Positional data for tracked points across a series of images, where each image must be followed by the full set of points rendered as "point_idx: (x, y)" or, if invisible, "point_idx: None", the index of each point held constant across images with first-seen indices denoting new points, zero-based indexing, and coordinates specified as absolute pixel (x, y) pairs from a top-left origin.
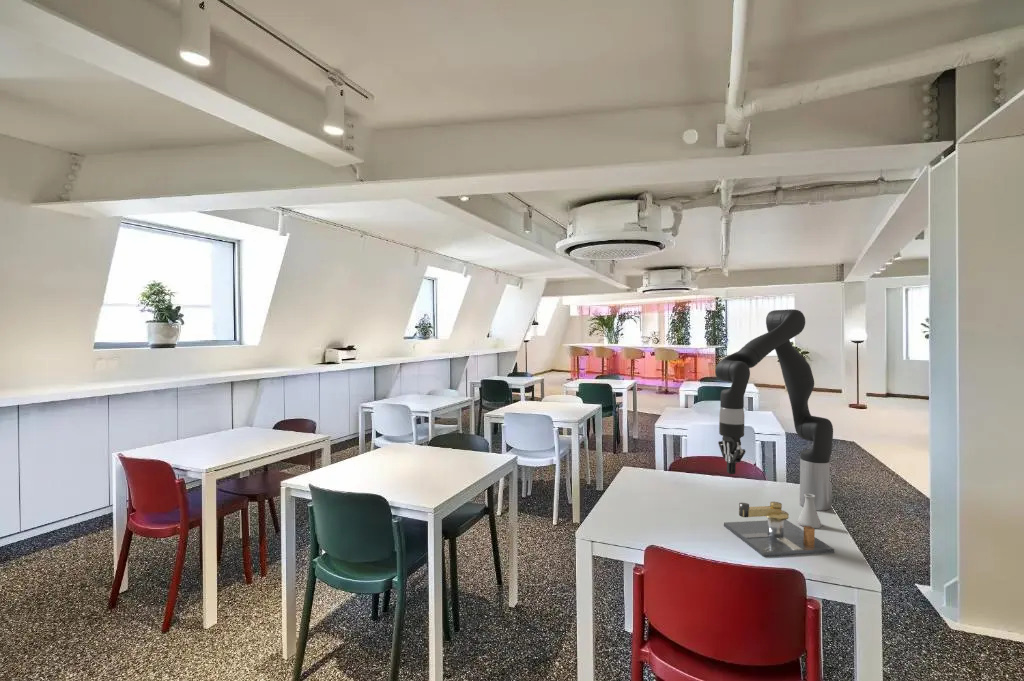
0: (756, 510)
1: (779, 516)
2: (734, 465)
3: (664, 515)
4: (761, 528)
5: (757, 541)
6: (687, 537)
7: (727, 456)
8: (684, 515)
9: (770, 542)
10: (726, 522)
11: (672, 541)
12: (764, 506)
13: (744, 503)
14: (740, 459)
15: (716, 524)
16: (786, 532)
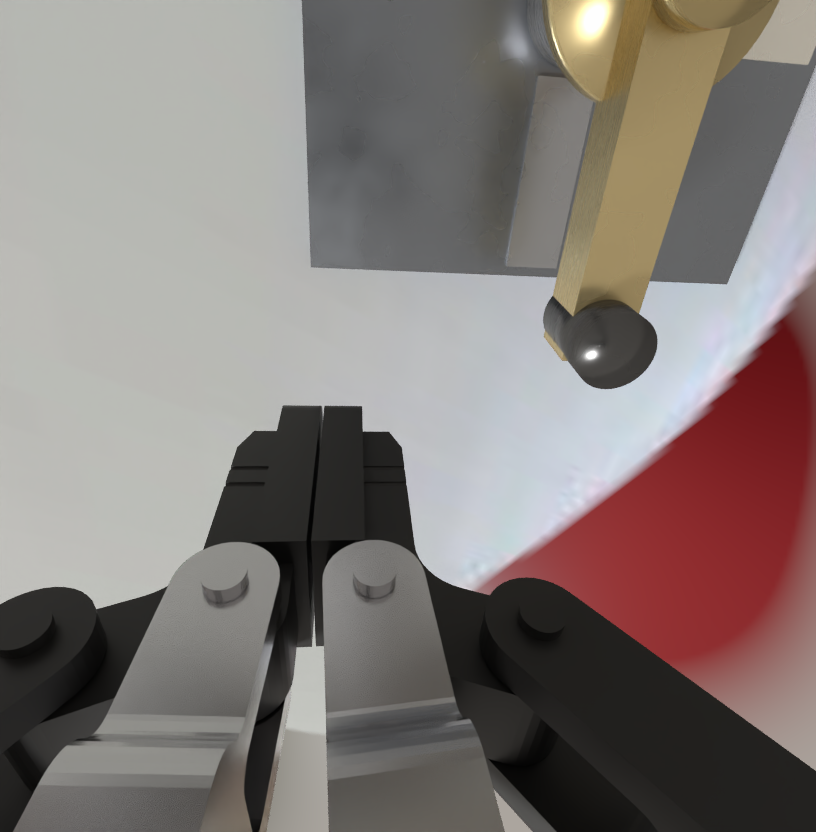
0: (657, 243)
1: (762, 18)
2: (412, 545)
3: (146, 498)
4: (452, 38)
5: None
6: (422, 496)
7: (270, 791)
8: (136, 406)
9: None
10: (311, 249)
11: (445, 556)
12: (635, 97)
13: (602, 340)
14: (666, 684)
15: (281, 291)
16: None
